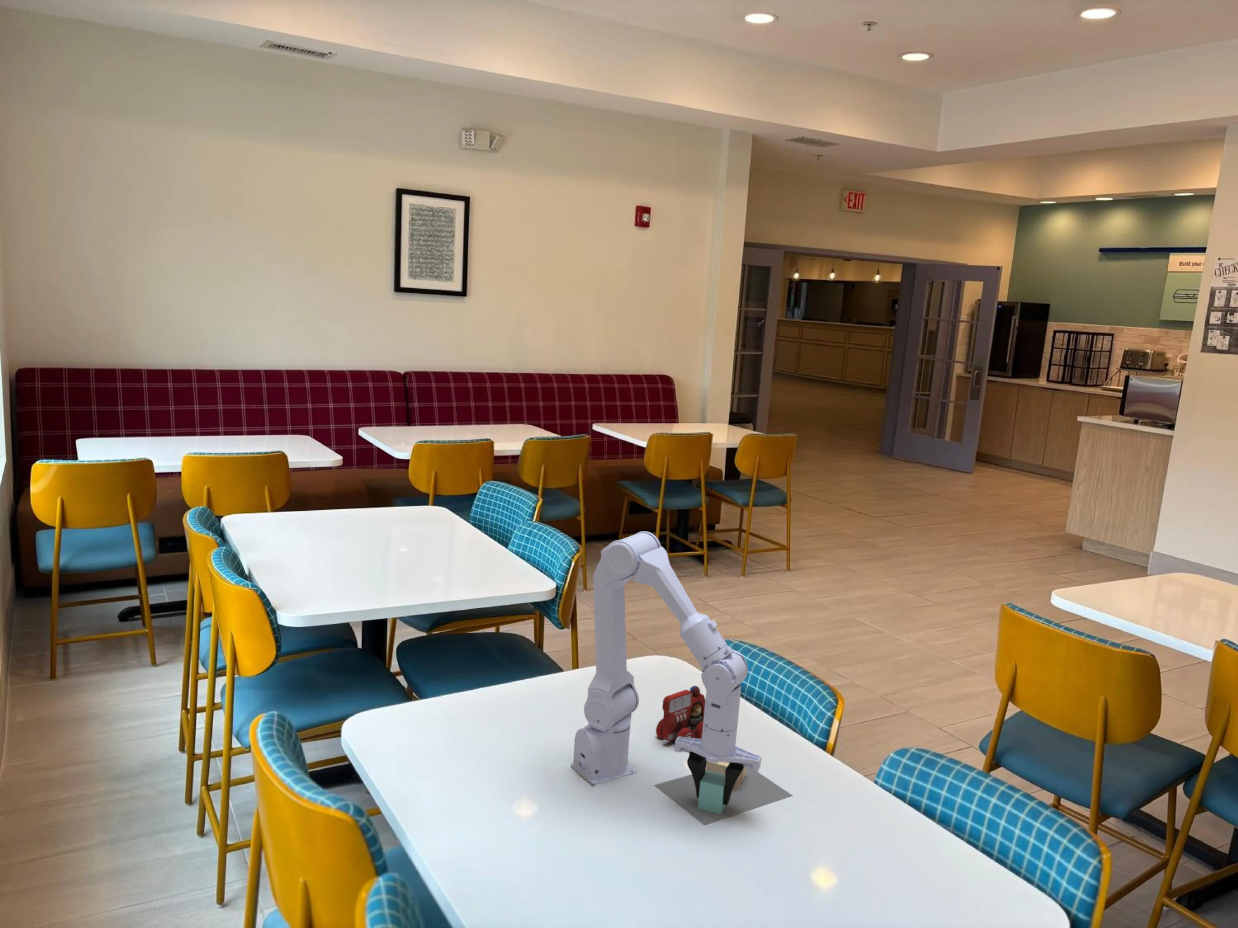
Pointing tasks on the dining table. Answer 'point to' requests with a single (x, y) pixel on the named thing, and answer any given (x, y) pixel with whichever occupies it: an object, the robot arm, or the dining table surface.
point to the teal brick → (712, 792)
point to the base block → (721, 768)
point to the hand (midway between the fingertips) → (713, 798)
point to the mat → (746, 798)
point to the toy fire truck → (682, 715)
